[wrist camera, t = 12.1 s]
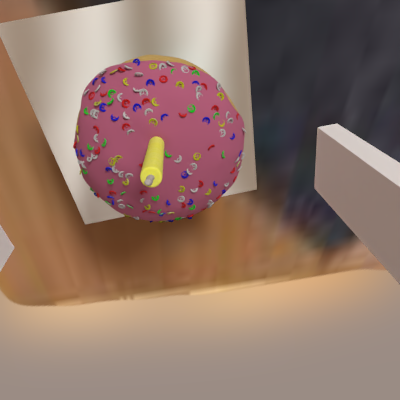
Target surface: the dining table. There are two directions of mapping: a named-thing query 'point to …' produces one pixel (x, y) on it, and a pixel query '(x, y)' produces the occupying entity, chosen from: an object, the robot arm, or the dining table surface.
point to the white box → (118, 53)
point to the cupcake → (158, 138)
